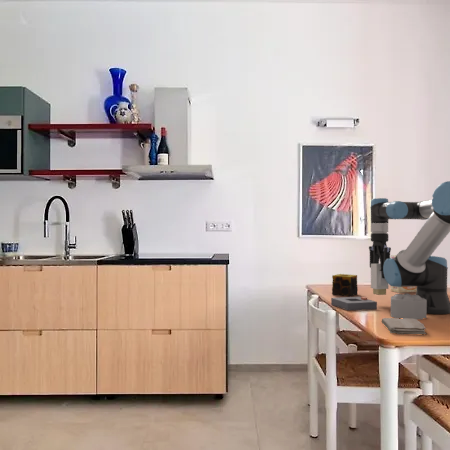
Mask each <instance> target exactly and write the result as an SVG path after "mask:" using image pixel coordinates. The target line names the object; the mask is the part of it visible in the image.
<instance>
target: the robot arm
mask: <svg viewBox="0 0 450 450" xmlns="http://www.w3.org/2000/svg"><path fill="white" fill-rule="evenodd" d="M431 197H432V198H431V199H427V200H422V201H399V200H393V201H389V199H388V198H387V197H384V198H383V197H382V198H380V197H379V198H372V199H371V201H370V232H371V233H370V241H371V242H372V245H371V246H368V249H369V268H370V269H371V264H377V263H380V265H381V270H380V286H386V281H387V283H388V286H390V287H391V286H393V287H408V286H417V291H416V292H415V295H419V296H420V297H421V298H424V299H426V300H427V314H432V315H446V314H447V315H449V314H450V298H449V295H448V268H449V267H448V260H447V259H446V258H445V257H441V256H435V255H433V253H434V252H435V251H436V249H437V248H438V247H439V246H440V245H441V243H442V242H443V241H444V240H445V238H446V237H447V236H448V235H449V234H450V180H449V181H448V180H446V181H444V182H442V183H440V184H438V186H436V187H435V189H434V191H433V193H432V196H431ZM389 220H422V221H424V220H426V221H425V222H424V224H423V225H422V227H421V228H420V229H419V231H418V232H417V233H416V234H415V236H414V238H413V239H412V240H411V242H410V243H409V244H408V246H407V247H406V248H405V249H401V250H400V251H399V252H398V253H397V254H396V255H397V256H396V257H395V258H391V250H392V249H391V247H389V246H388V245H387V243H388V242H389V234H388V232H389Z"/></svg>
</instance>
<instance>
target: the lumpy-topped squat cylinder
mask: <svg viewBox="0 0 450 450" xmlns="http://www.w3.org/2000/svg"><path fill="white" fill-rule="evenodd" d="M427 314H428V313H427V300H426V299H424V298H421V297H420V296H419V295H416V294H410V293H409V292H404V293H395V294H394V295H391V296H390V318H393V317H394V318H396V319H399V318H403V319H404V318H409V319H410V318H413V319H416V320H424V319H423V318H426V319H427Z"/></svg>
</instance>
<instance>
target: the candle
mask: <svg viewBox="0 0 450 450" xmlns="http://www.w3.org/2000/svg"><path fill="white" fill-rule="evenodd" d="M331 278H332V287H331V294H332V295H334V296H341V297H354V296H356V295H358V291H359V289H358V288H359V287H358V275H357V274H344V273H340V274H339V273H337V274H334V275H333V274H332V277H331Z"/></svg>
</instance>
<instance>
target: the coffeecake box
mask: <svg viewBox="0 0 450 450" xmlns="http://www.w3.org/2000/svg"><path fill="white" fill-rule="evenodd" d="M396 256H397V254H396V255H393V254H392V255H391V254H390V258H395V257H396ZM390 291H391V292H394V293H396V294H404V293H416V291H417V286H408V287H393V286H390Z"/></svg>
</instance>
